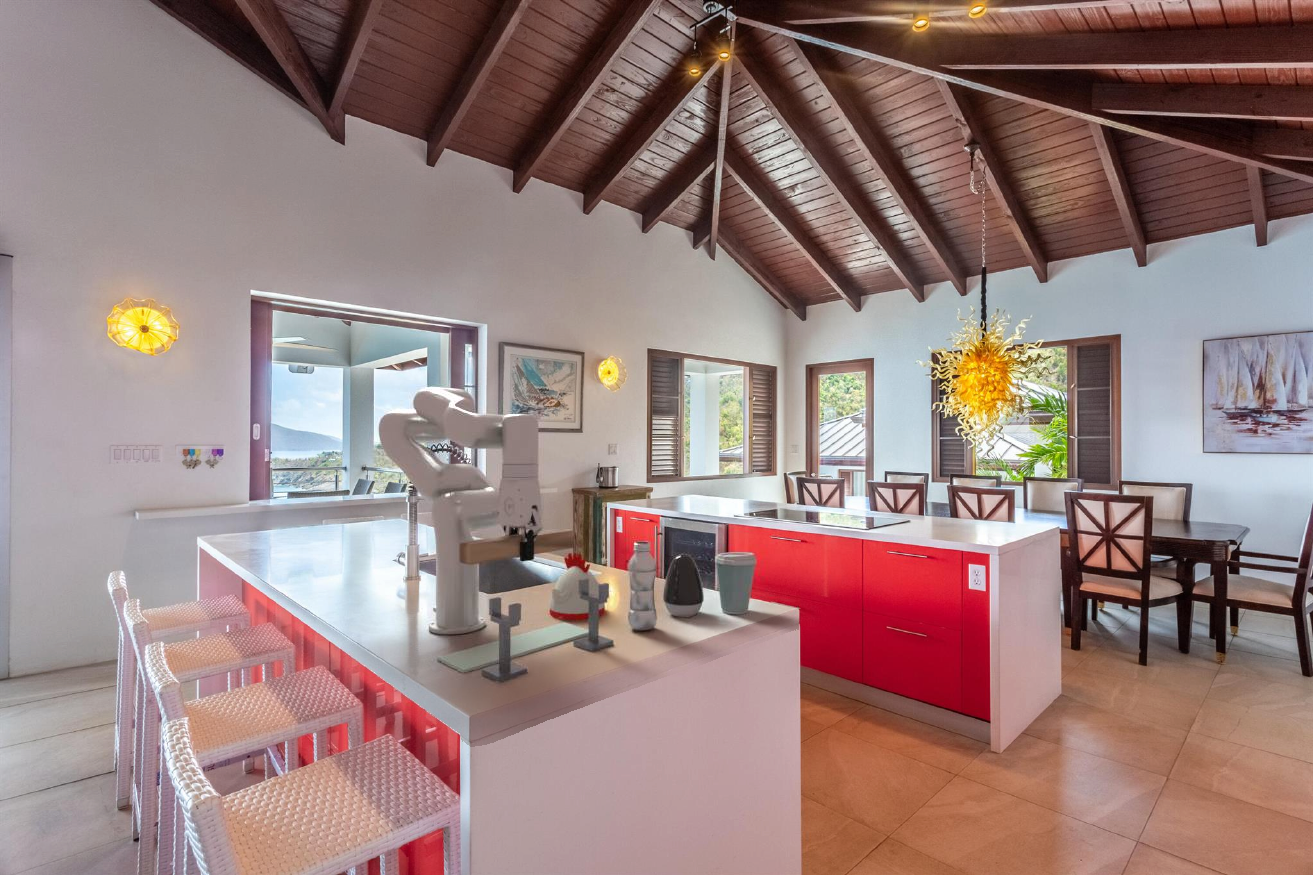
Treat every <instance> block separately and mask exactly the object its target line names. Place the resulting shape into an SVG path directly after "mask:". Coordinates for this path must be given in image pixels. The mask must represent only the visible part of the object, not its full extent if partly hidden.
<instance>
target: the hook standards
mask: <svg viewBox="0 0 1313 875" xmlns="http://www.w3.org/2000/svg"><path fill="white" fill-rule="evenodd" d="M579 594H580V599H583V600H587V601H589V619H588V630H589V635H587V636H584V637H580V638H577V639H574V640H573V643H572V644H573V646H574V647H577V648H580V649H582V650H585V651H588V652H591V653H594V652H597V651H600V650H602V649H606V648H608V647H612V646H614V644H615V643H614V639H610V638H608V637H605V636H602V635H599V634H600V633H599V628H600V627H599V625H600V624H599V619H600V618H599V617H600V616H599V604H603V603H605V604H606V603H608V599H609V598H610V583H609V582H604V583H600V584H599V595H595V594H592V593H589V579H587V578H585V579H580V580H579ZM488 615H489V616H490V622H493V623H496V624H498V640H499V663H496V664H492V665H489V666H486V667H483V668H481V675H482V676H483V677H486V678H488V679H490V680H492V681H495V682H496V681H497V682H496V683H498V684H501V683H505V682H507V681H510V680H513V679H516V678H519V677H520V678H521V677H523V676H525V675H528V672H529V671H528V669H529V668H528V667H525V666H523V665H521V664H518V663H516V662H513V661H511V659H510V637H511V630H512V629H511V628H514V627H518V626H520V622H521V621H522V603H519V602H518V603H517V602H516V603H512V604H508V615H506V614H503V613H502V597H499V596H497V597H493V598H489V599H488ZM504 681H505V682H504Z"/></svg>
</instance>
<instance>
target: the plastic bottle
mask: <svg viewBox="0 0 1313 875" xmlns="http://www.w3.org/2000/svg"><path fill="white" fill-rule="evenodd" d="M633 543H634V545H633V552H634V554H633V555H632V556H631V558H629V561H628V563H627V571H628V576H629V585H630V588H629V589H630V598H629V599H630V601H629V609H628V613H627V614H628V616H627V620H628V625H629V627H630V629H632V630H636V631H650V630H652V629H654V628H655V626H656V625H657V620H658V616H657V610H656V605H655V601H656V600H655V579H656V573H657V564H656V561H655V559H654V557H653V556H652V555H651V553H650V552H651V551H652V550H651V542H649V541H645V540H644V541H635V542H633Z"/></svg>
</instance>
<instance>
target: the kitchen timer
mask: <svg viewBox="0 0 1313 875" xmlns="http://www.w3.org/2000/svg"><path fill="white" fill-rule="evenodd" d="M586 562H587V559H586V558H582V553H579V554H577V552H576V553H573V554H572V552H570V553H568V556H565V557H564V564H565V566H566V570H565V571H564V572H563V573H562V574H561V575H560V577H558V580H557V581H556V584H555V585H554V588H553V589H552V591H551V597H550V601H549V616H550V615H551V616H550V617H552V618H554V619H558V620H562V621H563V620H564V621H585V620H589V601H587V600H583V599H580V594H579V580H580V579H585V578H587V579H589V593H592V594H595V595H599V584H601V583H600V582H598V580H597V578H596V576H595V575H594V574H593V572H591V571H590V566H591V564H590V563H589V564H586ZM605 604H606V603H603V604H599V617H601V616H603V615H604V614H605V611H606V608H605V607H606V606H605Z"/></svg>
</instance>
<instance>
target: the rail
mask: <svg viewBox="0 0 1313 875" xmlns="http://www.w3.org/2000/svg"><path fill="white" fill-rule="evenodd" d="M520 542H522V537H521V533H519V534H517V535H510V536H505V535H503V536H494V537H488V538H482V539H481V538H480V539H474V540H472V541H464V542H459V562H460V563H464V564H468V565H473V564H479V565H480V564H484V563H491V562H497V561H502V560H508V559H509V558H510V559H516V558H520ZM569 549H575V530H574V529H569V528H555V529H547V530H541V531H540V532H539V533H538V534H537V536H536V540H535V541H534V555H540V554H544V553H551V552H556V551H562V550H569Z"/></svg>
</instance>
